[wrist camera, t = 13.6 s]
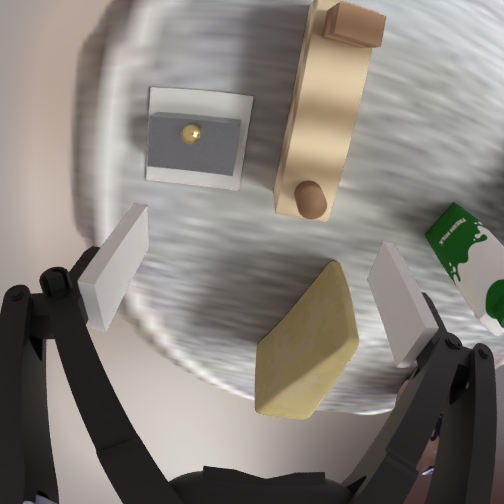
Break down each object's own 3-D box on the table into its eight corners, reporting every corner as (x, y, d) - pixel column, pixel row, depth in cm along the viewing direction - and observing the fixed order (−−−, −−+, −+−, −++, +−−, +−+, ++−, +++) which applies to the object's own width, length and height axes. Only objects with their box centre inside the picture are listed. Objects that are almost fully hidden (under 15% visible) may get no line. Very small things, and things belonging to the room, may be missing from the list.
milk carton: (454, 194, 38) (535, 280, 22) (479, 225, 41) (549, 308, 24) (417, 236, 42) (480, 335, 26) (446, 262, 45) (501, 354, 28)
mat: (152, 87, 32) (150, 87, 31) (253, 96, 32) (253, 96, 32) (147, 178, 38) (146, 179, 38) (238, 189, 39) (238, 190, 39)
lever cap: (157, 111, 33) (145, 118, 30) (241, 119, 34) (239, 127, 30) (154, 158, 36) (144, 169, 33) (234, 167, 37) (231, 180, 34)
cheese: (306, 250, 44) (322, 330, 32) (362, 268, 46) (391, 344, 34) (253, 344, 56) (252, 416, 44) (301, 354, 58) (308, 423, 45)
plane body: (309, 5, 26) (330, -17, 17) (360, 19, 26) (399, 6, 17) (273, 191, 39) (277, 237, 30) (318, 199, 40) (336, 246, 31)
